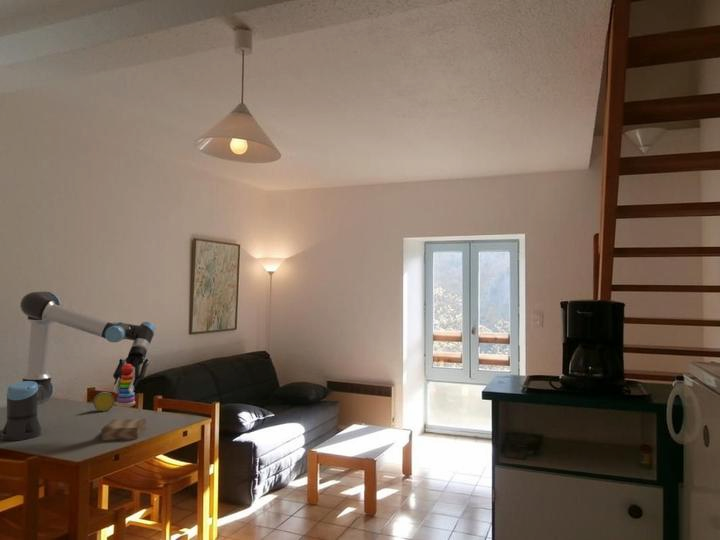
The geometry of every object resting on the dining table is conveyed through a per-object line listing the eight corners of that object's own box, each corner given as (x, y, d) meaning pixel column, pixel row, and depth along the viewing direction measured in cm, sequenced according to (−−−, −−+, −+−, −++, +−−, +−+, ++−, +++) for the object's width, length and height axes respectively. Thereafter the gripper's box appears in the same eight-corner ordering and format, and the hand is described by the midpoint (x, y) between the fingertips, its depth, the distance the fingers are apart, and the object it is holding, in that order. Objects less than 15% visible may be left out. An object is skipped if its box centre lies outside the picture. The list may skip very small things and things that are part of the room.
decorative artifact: (93, 412, 276) (93, 393, 276) (92, 410, 282) (92, 391, 282) (114, 410, 281) (114, 391, 281) (112, 407, 287) (112, 389, 287)
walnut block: (101, 440, 228) (101, 429, 228) (112, 430, 243) (112, 420, 243) (137, 438, 230) (137, 427, 231) (145, 429, 245) (145, 418, 245)
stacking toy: (139, 404, 240) (141, 363, 240) (127, 408, 232) (129, 366, 233) (124, 402, 242) (126, 362, 242) (112, 406, 234) (114, 364, 235)
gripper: (160, 354, 253) (146, 396, 236) (121, 354, 253) (104, 396, 236) (156, 345, 248) (140, 386, 231) (116, 345, 248) (98, 386, 231)
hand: (122, 391), depth 234 cm, fingers closed on stacking toy, 6 cm apart
